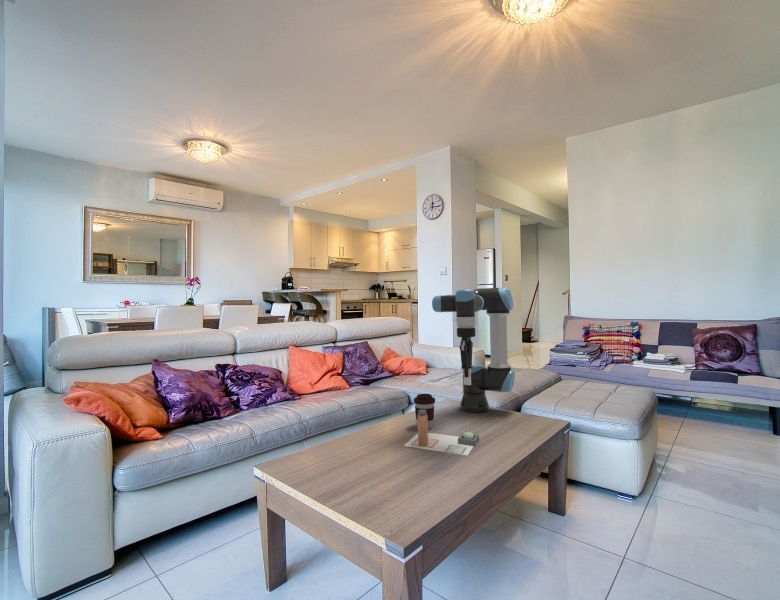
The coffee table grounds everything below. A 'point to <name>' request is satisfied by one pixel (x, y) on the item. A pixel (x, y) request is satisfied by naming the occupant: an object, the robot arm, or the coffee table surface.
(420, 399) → the coffee cup
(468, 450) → the sheet
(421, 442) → the marker
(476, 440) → the button housing
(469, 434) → the button
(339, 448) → the coffee table surface
